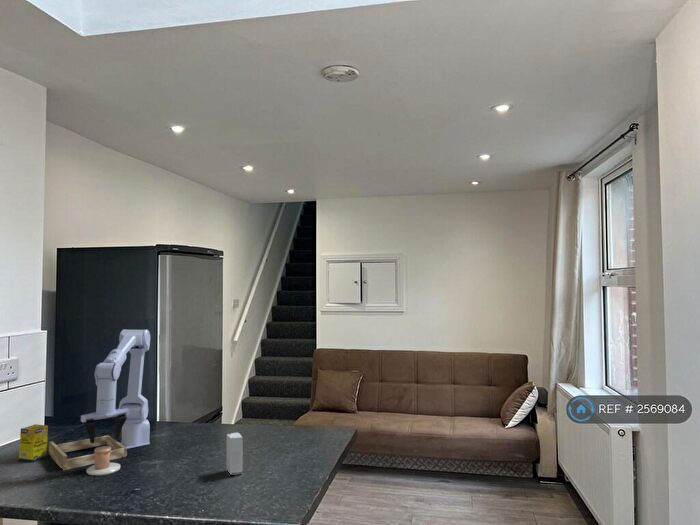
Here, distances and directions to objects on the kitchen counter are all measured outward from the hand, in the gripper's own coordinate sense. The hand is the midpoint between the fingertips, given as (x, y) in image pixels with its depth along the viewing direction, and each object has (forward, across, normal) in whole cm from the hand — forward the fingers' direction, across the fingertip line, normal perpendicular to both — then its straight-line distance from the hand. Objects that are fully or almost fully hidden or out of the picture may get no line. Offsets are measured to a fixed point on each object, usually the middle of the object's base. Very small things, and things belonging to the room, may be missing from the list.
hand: (104, 440), depth 162 cm
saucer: (+9, 0, -1) cm, 9 cm away
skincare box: (+10, +31, -31) cm, 45 cm away
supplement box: (+10, -15, +26) cm, 32 cm away
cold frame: (+9, 0, +17) cm, 20 cm away
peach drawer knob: (+9, 0, 0) cm, 9 cm away
